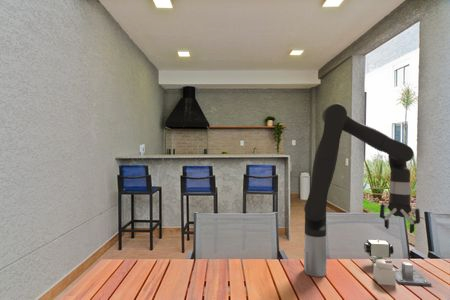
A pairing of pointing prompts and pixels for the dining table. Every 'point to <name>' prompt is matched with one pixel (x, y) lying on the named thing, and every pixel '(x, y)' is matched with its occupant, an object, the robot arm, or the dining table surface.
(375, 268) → the knob
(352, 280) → the dining table surface
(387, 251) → the pneumatic valve
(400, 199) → the robot arm
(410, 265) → the shaft mount
